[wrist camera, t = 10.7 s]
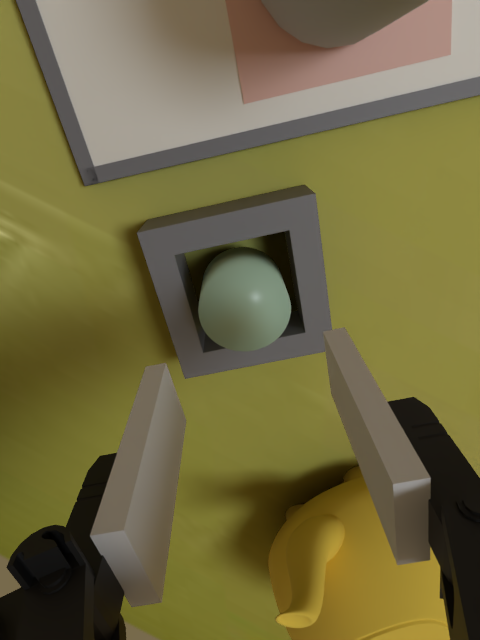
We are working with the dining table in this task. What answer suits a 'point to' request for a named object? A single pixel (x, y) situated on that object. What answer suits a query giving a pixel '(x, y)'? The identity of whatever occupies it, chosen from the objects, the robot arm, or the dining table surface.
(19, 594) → the robot arm
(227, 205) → the button housing
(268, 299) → the button
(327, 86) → the picture sheet
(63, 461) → the dining table surface
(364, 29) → the can
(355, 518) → the teapot
